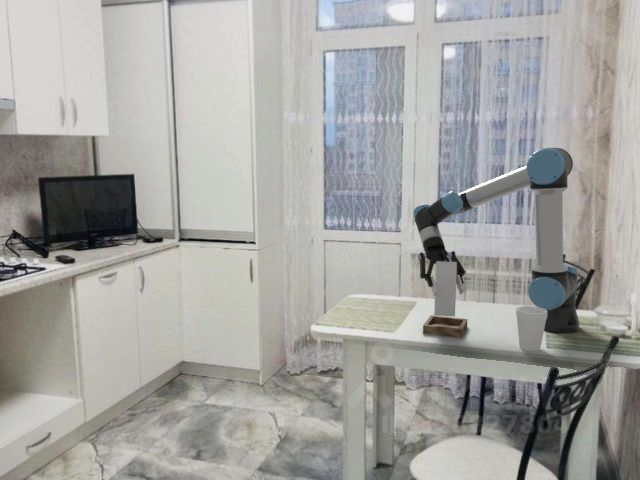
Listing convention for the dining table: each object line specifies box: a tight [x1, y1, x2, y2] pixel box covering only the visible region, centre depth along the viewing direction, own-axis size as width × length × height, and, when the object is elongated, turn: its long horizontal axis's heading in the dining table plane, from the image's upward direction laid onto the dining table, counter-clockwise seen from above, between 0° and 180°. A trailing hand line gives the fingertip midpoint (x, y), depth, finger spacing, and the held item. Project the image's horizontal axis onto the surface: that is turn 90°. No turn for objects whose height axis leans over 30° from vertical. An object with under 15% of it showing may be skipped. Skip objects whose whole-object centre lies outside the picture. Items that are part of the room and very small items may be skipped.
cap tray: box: [422, 314, 468, 339], centre depth 210 cm, size 13×13×3 cm
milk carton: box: [433, 261, 457, 317], centre depth 208 cm, size 7×7×19 cm
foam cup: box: [515, 305, 547, 353], centre depth 190 cm, size 10×9×13 cm
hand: (449, 293), depth 205 cm, fingers closed on milk carton, 9 cm apart
